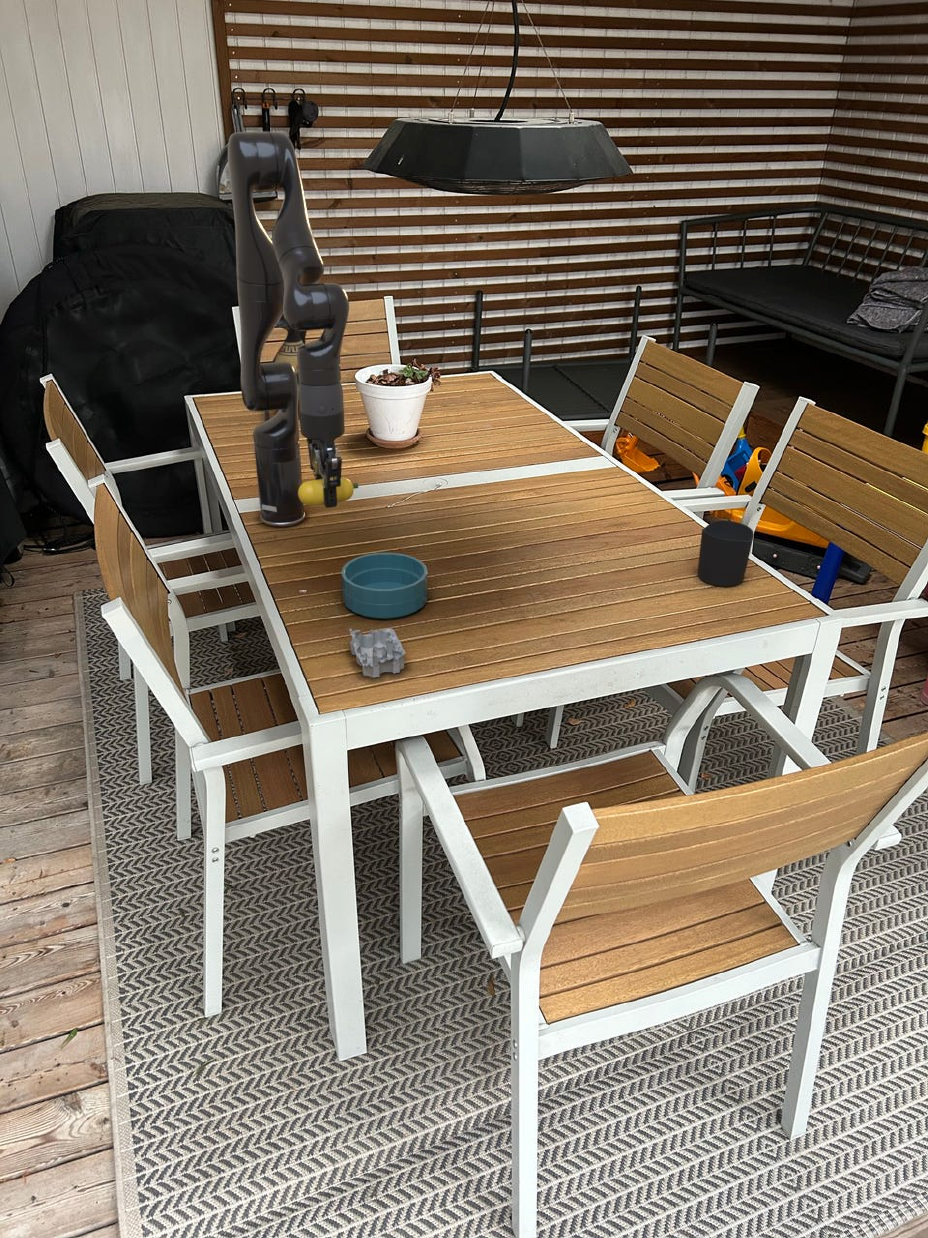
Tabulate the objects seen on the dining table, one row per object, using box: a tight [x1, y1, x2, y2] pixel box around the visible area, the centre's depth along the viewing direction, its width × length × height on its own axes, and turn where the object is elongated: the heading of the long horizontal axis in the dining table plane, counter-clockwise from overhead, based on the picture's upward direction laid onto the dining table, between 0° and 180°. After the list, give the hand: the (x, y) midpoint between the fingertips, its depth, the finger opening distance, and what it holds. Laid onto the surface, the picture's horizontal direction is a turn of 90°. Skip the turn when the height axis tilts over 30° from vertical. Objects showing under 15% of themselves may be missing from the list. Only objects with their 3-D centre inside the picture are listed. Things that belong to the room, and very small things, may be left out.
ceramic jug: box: [271, 314, 308, 418], centre depth 263 cm, size 17×15×30 cm
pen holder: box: [697, 519, 755, 588], centre depth 181 cm, size 9×9×10 cm
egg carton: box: [348, 627, 407, 678], centre depth 153 cm, size 11×8×4 cm
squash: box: [298, 476, 359, 507], centre depth 168 cm, size 11×4×4 cm, turn 113°
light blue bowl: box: [341, 552, 428, 620], centre depth 171 cm, size 15×15×6 cm
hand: (326, 500), depth 169 cm, fingers closed on squash, 4 cm apart
